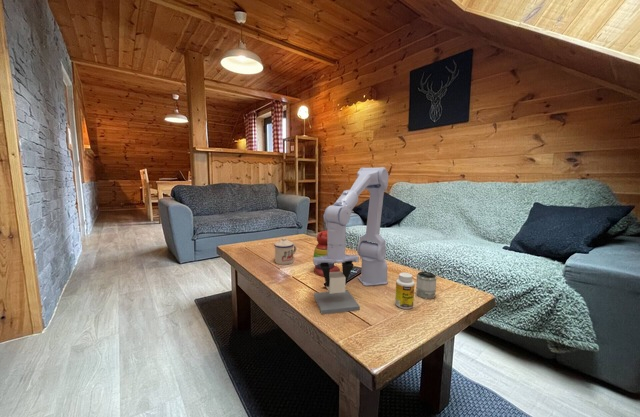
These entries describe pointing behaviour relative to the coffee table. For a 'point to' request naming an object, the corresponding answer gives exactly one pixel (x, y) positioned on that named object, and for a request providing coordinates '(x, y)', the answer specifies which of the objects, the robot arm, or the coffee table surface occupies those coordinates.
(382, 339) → the coffee table surface
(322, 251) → the stacking bear
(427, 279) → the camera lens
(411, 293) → the supplement bottle
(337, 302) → the plate
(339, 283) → the block
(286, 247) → the teacup with lid
